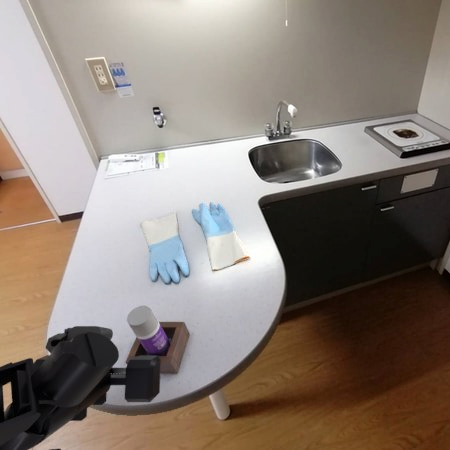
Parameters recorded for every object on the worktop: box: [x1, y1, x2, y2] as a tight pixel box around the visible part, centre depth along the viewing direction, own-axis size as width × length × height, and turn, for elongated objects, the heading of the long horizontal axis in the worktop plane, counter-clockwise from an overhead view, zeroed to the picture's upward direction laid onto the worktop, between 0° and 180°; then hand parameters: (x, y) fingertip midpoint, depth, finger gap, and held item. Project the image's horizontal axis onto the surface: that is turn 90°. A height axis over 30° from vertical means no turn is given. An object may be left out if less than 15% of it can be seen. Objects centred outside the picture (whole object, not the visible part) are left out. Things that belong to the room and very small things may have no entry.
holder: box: [124, 321, 190, 374], centre depth 67 cm, size 9×9×5 cm
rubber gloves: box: [140, 201, 251, 284], centre depth 95 cm, size 27×33×6 cm
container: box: [126, 305, 171, 356], centre depth 64 cm, size 5×5×15 cm
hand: (127, 358), depth 55 cm, fingers open, 9 cm apart
